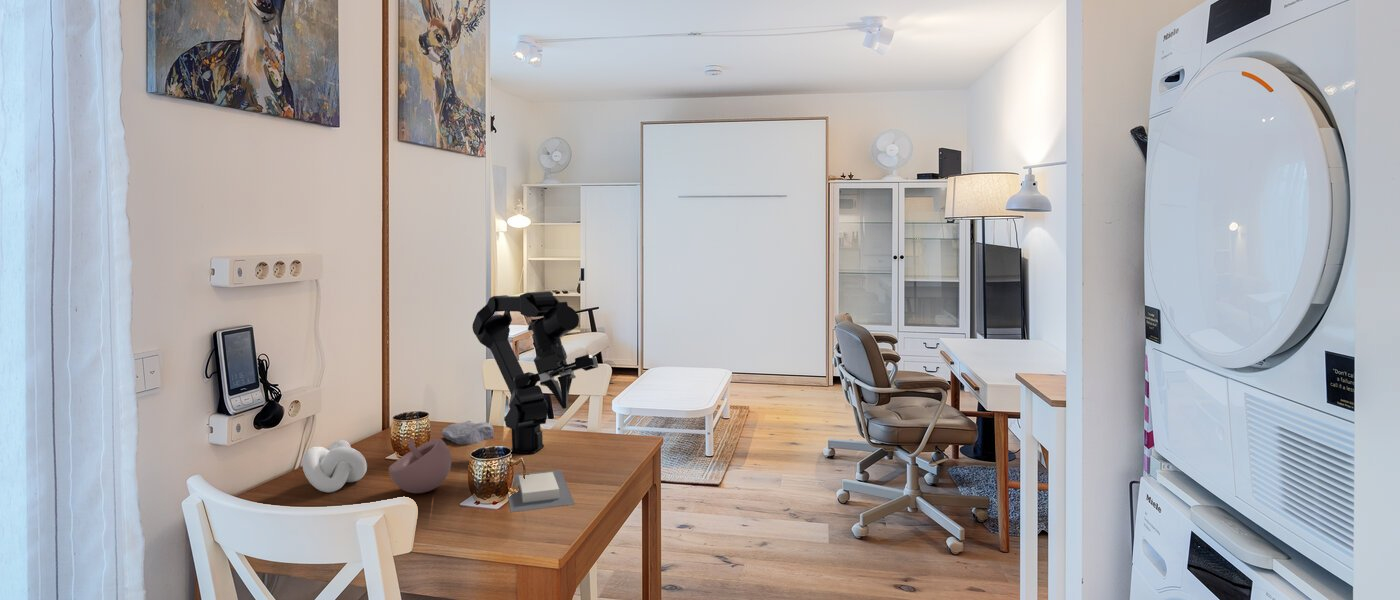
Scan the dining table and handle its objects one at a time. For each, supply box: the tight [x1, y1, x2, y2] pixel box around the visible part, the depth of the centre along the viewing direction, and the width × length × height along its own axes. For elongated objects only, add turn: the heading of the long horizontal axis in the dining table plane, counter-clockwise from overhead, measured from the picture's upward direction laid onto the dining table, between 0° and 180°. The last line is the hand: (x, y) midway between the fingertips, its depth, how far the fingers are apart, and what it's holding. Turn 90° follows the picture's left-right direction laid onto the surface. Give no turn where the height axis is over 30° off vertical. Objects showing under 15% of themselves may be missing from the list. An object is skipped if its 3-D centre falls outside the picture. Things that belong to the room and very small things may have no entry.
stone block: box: [441, 420, 495, 446], centre depth 183 cm, size 12×5×10 cm
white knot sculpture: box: [301, 439, 368, 493], centre depth 148 cm, size 11×12×9 cm
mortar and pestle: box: [388, 437, 452, 494], centre depth 143 cm, size 12×12×11 cm
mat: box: [507, 469, 576, 513], centre depth 143 cm, size 22×12×1 cm, turn 18°
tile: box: [519, 472, 559, 503], centre depth 141 cm, size 2×7×11 cm
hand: (565, 408), depth 159 cm, fingers closed
